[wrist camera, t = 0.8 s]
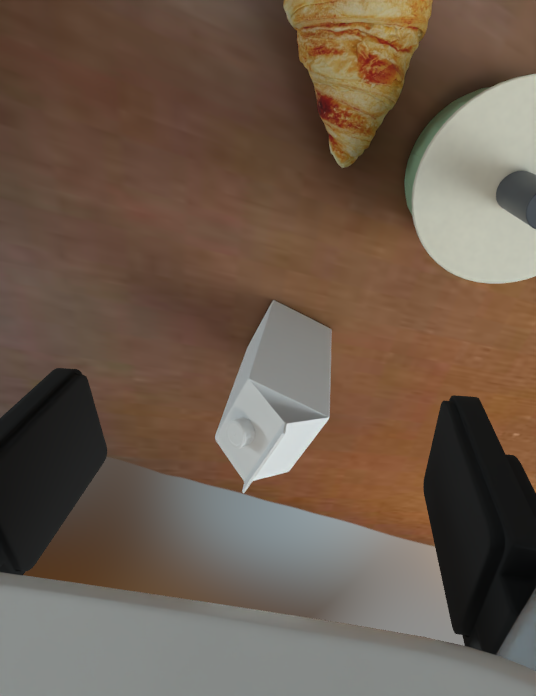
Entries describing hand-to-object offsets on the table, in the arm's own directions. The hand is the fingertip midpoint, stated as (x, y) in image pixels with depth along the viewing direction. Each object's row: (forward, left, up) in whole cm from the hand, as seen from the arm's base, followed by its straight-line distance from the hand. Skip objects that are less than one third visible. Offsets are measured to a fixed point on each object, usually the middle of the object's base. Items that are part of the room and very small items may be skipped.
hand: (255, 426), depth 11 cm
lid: (+4, +14, -25) cm, 29 cm away
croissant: (-11, +8, -32) cm, 35 cm away
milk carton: (+13, -8, -32) cm, 36 cm away
